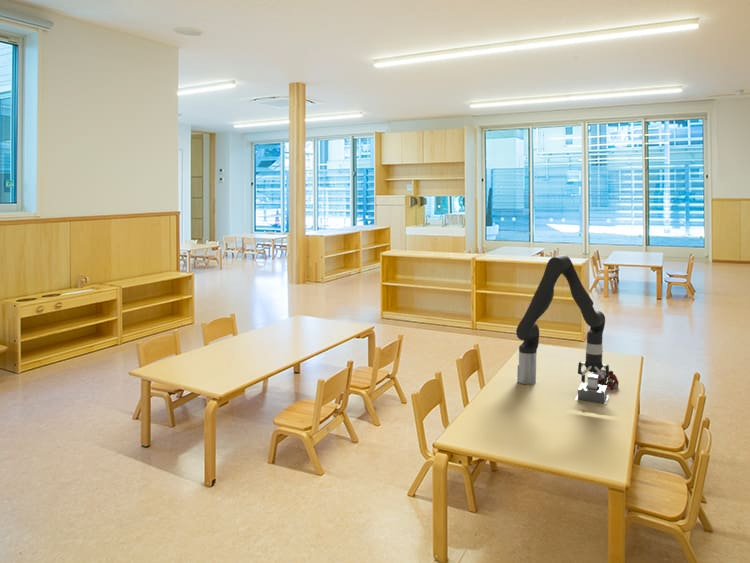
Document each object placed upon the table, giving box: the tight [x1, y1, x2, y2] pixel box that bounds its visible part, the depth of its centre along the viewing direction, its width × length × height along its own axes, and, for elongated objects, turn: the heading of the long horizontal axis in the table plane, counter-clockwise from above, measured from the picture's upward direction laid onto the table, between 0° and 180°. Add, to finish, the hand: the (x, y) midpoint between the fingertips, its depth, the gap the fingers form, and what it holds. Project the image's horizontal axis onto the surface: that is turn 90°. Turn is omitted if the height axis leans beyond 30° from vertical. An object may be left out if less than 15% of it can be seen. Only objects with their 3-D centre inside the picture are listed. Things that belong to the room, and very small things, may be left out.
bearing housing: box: [575, 381, 610, 405], centre depth 277 cm, size 14×14×6 cm
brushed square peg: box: [587, 373, 598, 390], centre depth 277 cm, size 4×4×11 cm
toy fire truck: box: [592, 369, 620, 391], centre depth 292 cm, size 7×12×10 cm, turn 56°
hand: (592, 383), depth 276 cm, fingers open, 8 cm apart
